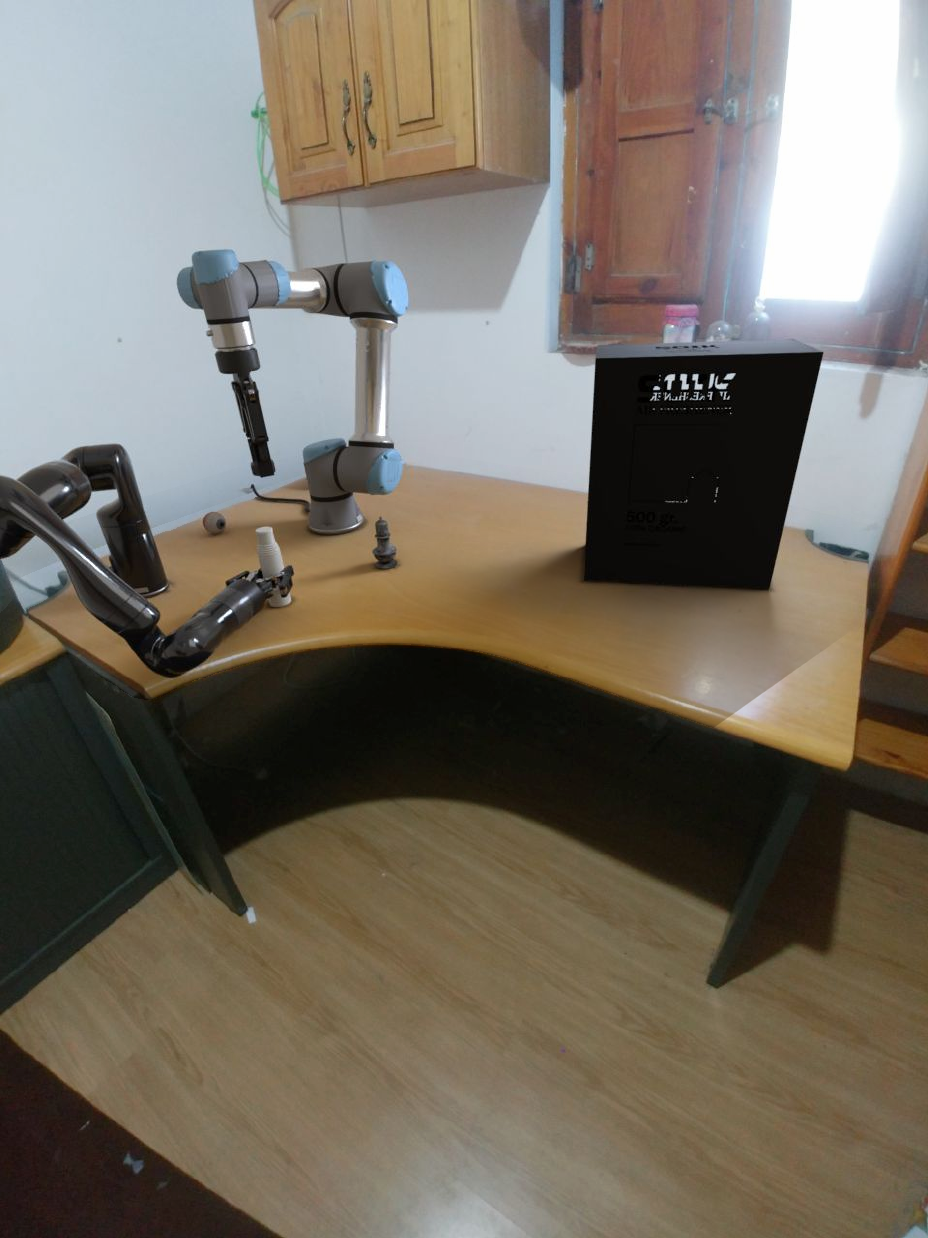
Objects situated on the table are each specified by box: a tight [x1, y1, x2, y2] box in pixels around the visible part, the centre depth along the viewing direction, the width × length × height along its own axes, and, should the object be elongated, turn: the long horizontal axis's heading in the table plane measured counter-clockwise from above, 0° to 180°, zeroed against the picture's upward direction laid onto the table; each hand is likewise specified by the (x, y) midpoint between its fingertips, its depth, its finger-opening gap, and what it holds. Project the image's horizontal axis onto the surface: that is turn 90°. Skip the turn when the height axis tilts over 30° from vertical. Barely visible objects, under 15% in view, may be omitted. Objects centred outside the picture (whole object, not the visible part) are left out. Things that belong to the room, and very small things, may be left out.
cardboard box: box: [583, 338, 824, 590], centre depth 125 cm, size 38×20×45 cm, turn 78°
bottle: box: [255, 526, 292, 608], centre depth 126 cm, size 5×5×17 cm
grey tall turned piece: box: [371, 516, 398, 570], centre depth 142 cm, size 6×6×12 cm
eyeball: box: [202, 511, 227, 535], centre depth 167 cm, size 6×6×6 cm
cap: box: [250, 458, 276, 477], centre depth 122 cm, size 4×5×2 cm
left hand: (280, 568), depth 129 cm, fingers closed on bottle, 4 cm apart
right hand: (264, 472), depth 123 cm, fingers closed on cap, 4 cm apart
